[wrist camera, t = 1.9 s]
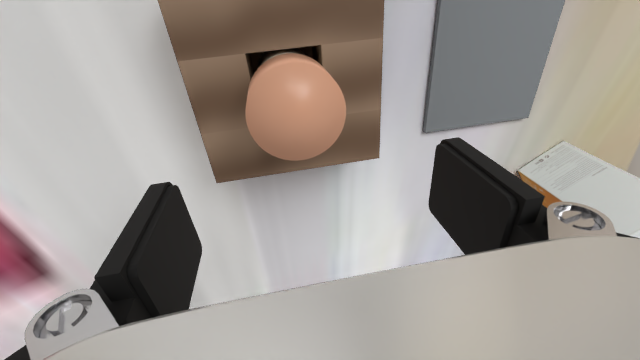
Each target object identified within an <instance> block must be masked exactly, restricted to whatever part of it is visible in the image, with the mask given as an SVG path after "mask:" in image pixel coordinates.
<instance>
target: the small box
mask: <svg viewBox="0 0 640 360" xmlns="http://www.w3.org/2000/svg"><path fill="white" fill-rule="evenodd" d="M518 173H519V175H520V177H521V179H522V181H523V182H525V183H526V184H528V185H529V186H531V187H532V188H534V189H535V190H537V191H538V192H539V193H541V194H542V195H544V196H545V198H544V201H543V203H542V205H544V206H545V207H546V208H548V206H549V205H550V204H552V203H555V202H574V203H579V204H583V205H586V206H589V207H592V208H594V209H596V210H598V211H600V212H602V213H603V214H605V215H606V216H607V217H608V218H609V219H610V220H611V222H612V223H613V225H614V229H615V232H617V233H621V234H625V235H629V236H632V237H636V238H640V178H638V177H636V176H634V175H632V174H629V173H628V172H626V171H624V170H622V169H620V168H617V167H615V166H613V165H611V164H609V163H607V162H605V161H603V160H601V159H599V158H597V157H595V156H593V155H591V154H589V153H587V152H585V151H583V150H581V149H579V148H577V147H575V146H573V145H571V144H569V143H567V142H565V141H562V142H561V143H559V144H557V145H556V146H554V147H553V148H551V149H550V150H548V151H546V152H545V153H543V154H542V155H540V156H539V157H537V158H536V159H534V160H532V161H531V162H529V163H528V164H526V165H525V166H523V167H522V168H520V169H519V170H518Z"/></svg>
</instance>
